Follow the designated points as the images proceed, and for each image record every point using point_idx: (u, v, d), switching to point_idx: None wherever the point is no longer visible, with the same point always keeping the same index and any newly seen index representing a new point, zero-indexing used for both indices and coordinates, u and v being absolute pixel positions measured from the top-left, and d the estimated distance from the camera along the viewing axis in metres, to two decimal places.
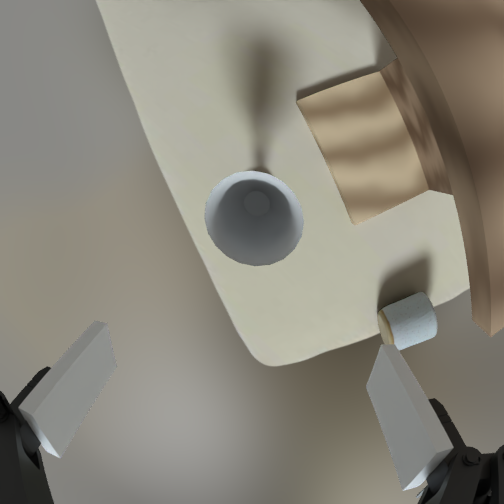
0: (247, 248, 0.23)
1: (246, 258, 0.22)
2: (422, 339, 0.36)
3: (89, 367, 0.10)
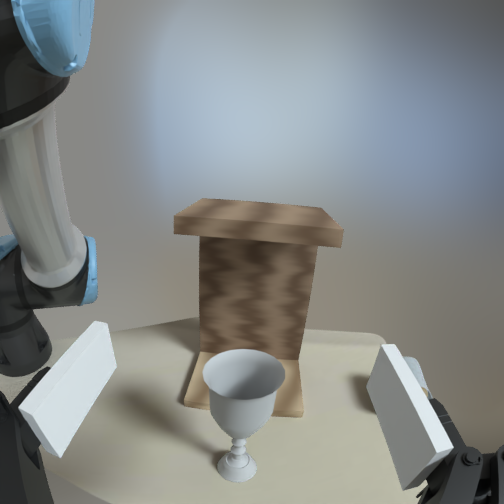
0: None
1: (272, 393, 0.22)
2: (417, 367, 0.39)
3: (89, 367, 0.10)
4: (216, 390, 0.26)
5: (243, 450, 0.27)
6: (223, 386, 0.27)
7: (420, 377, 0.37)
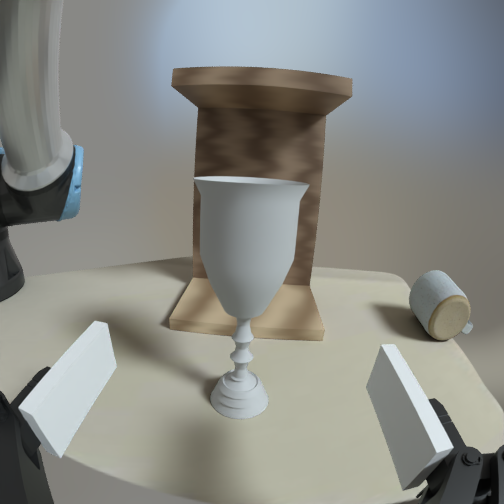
0: None
1: None
2: None
3: (89, 367, 0.10)
4: None
5: (249, 356, 0.21)
6: None
7: (458, 288, 0.31)
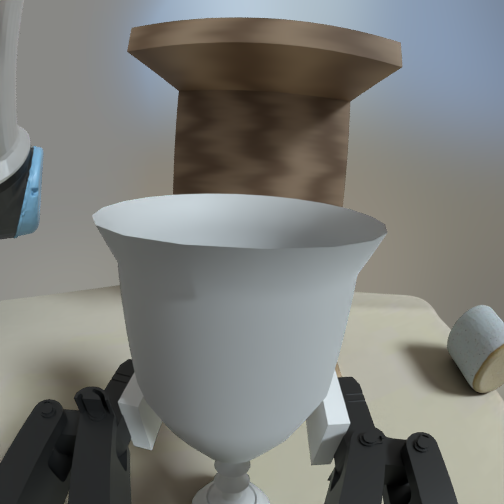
0: None
1: (362, 261, 0.06)
2: (499, 318, 0.22)
3: None
4: None
5: (243, 483, 0.11)
6: None
7: None
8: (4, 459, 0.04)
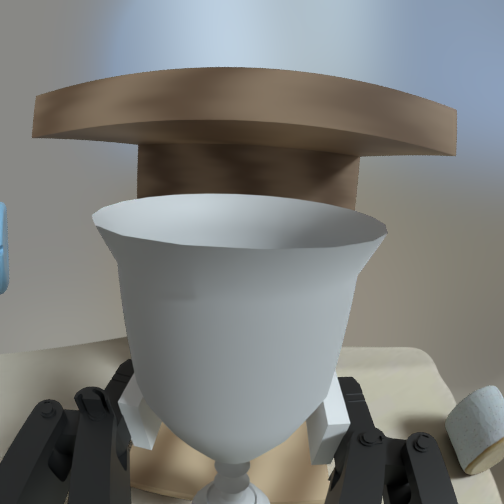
0: None
1: (362, 262, 0.05)
2: (503, 400, 0.18)
3: None
4: None
5: (243, 483, 0.11)
6: None
7: None
8: (4, 459, 0.04)
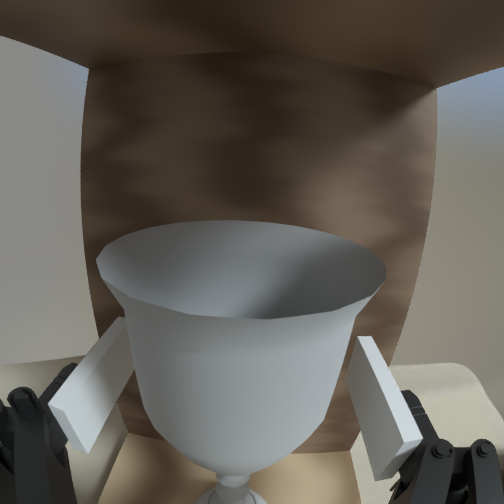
0: None
1: (360, 309, 0.06)
2: None
3: (115, 362, 0.11)
4: None
5: (243, 491, 0.11)
6: None
7: None
8: None
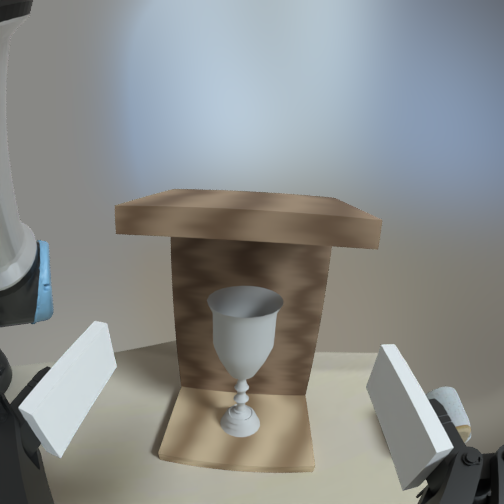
0: None
1: None
2: (457, 399, 0.26)
3: (89, 367, 0.10)
4: None
5: (246, 398, 0.31)
6: None
7: (462, 412, 0.24)
8: None
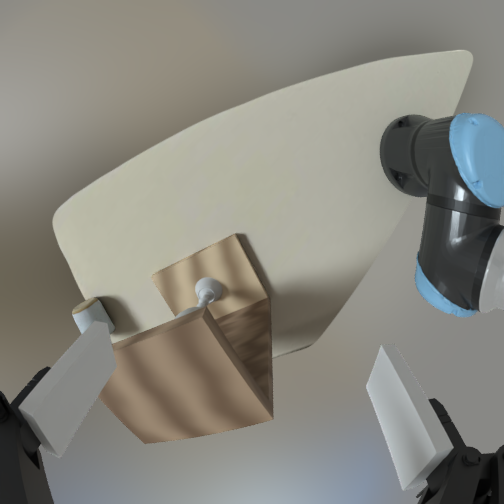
0: None
1: None
2: None
3: (89, 367, 0.10)
4: None
5: (199, 302, 0.48)
6: None
7: (77, 323, 0.50)
8: None
